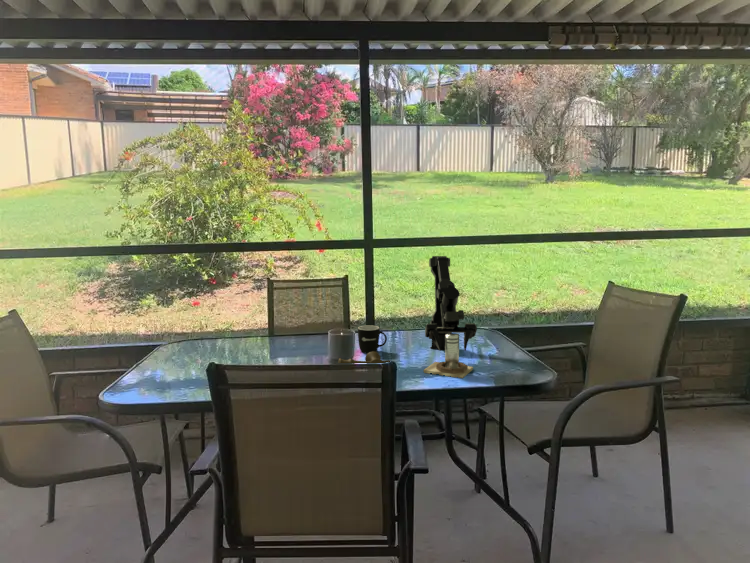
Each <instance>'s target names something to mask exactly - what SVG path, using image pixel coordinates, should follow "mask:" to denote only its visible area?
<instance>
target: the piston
mask: <svg viewBox="0 0 750 563" xmlns="http://www.w3.org/2000/svg"><path fill="white" fill-rule="evenodd" d="M444 351H445V352H444V362H445V368H452V369H453V368H459V362H460V357H459V356H460V333H447V334H445V350H444Z"/></svg>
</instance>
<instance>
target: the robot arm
mask: <svg viewBox="0 0 750 563" xmlns="http://www.w3.org/2000/svg"><path fill="white" fill-rule="evenodd" d="M428 260H429V261H428V265H429V268H430V273H431V274H432V275H433V277H434V298H435V300H434V301H435V302H434V304H435V305H434V306H435V311H434V313H433V314H432V316H431V320H430V323H426V324H425V329H424V335H425V337H426V338H428V339H429V340H431V346H430V348H429V349H433V350H438V351H440V352H441V351H445V334H447V333H457V334H460V333H463V349H464V351H465V352H466V350H467V346H468V342H469V340H470V339H471V340H472V338H474V337H476V334H477V332H478V326H477V324H476V323H469V322H468V323H465V324H464V326H462V327H461V326H459V325H460V320H464V319H465V312H464V310H463V309H461V310H460V309H459V310H458V311H457V305H458V300H459V297H460V294H461V293H460V291H459V289H458V288H456V285H455V283H454V282H453V281H452V280H451V274H450V267H451V257H448V256H447V255H432V257H430V258H429V259H428Z"/></svg>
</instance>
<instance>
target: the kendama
mask: <svg viewBox="0 0 750 563" xmlns="http://www.w3.org/2000/svg"><path fill="white" fill-rule="evenodd" d="M337 360H338V362H337V363H384V364H387V363H386V362H388V363H391V362H390V361H391V360H389V359H387V360H382V359H381V355H380V353H379V352H377V351H376V352H373V351H372V352H369V353H366V355H365V359H364V360H356V359H355V360H354V359H352V358H351V357H350V358H349V359H342V358H341V357H340V358H338V359H337Z"/></svg>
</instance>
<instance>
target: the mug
mask: <svg viewBox="0 0 750 563" xmlns="http://www.w3.org/2000/svg"><path fill="white" fill-rule="evenodd" d="M380 334H382V335H383V336H384V338H385V339H384V342H383V343H381V344H380V343H379V341H380ZM357 338H358V339H357V341H358V346H359V350H360V352H361V353H363V354H368V353H369V352H372V351H373V352H377V351H378V349H379V348H381V347H383V346H385V344H386V343H387V341H388V337H387V335H386V333H385V332H383V331H381V330H380V327H379V326H377V325H372V324H371V325H360V326H358V327H357Z"/></svg>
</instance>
